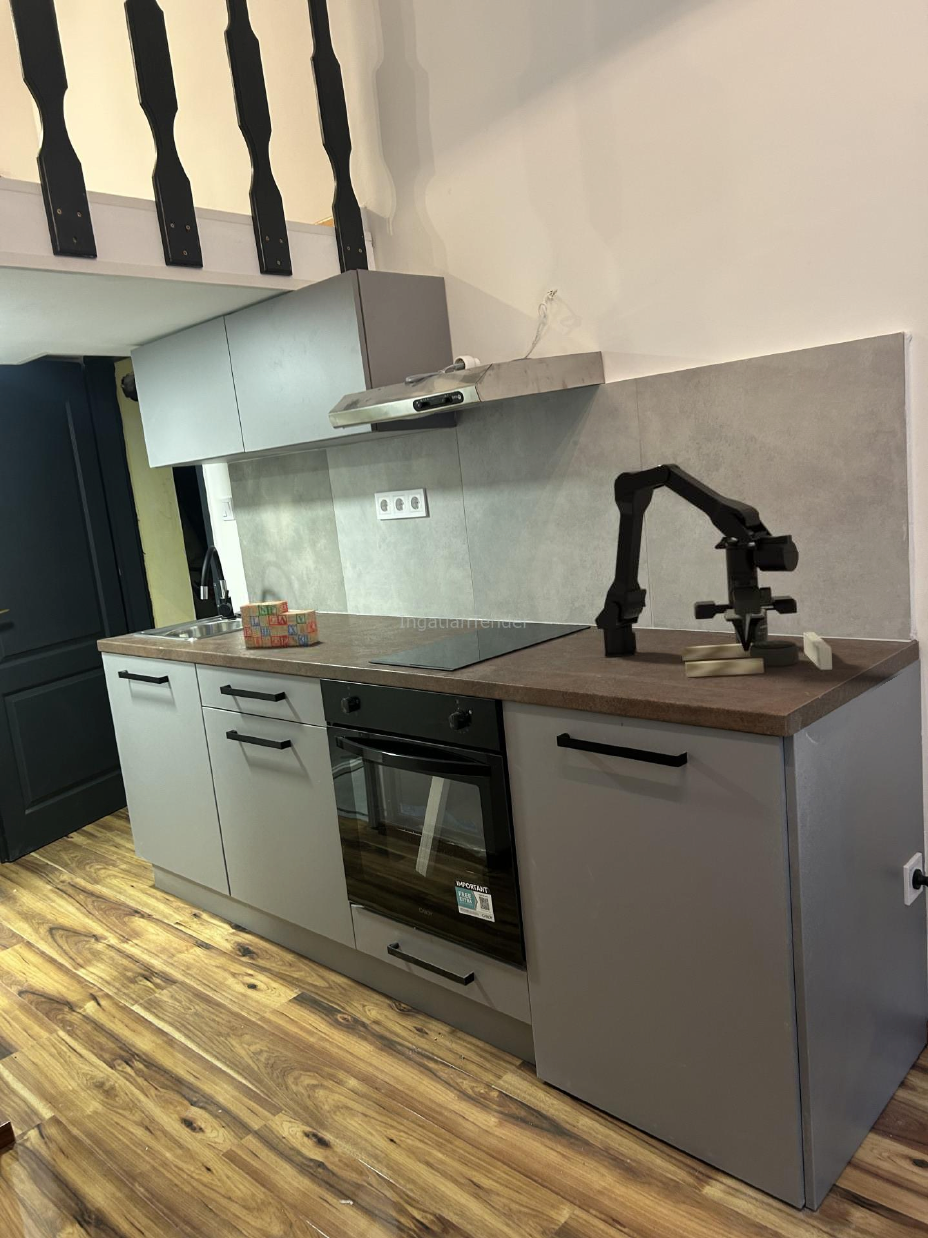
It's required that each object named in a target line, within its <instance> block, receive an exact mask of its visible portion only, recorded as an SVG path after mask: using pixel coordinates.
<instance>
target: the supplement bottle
mask: <svg viewBox="0 0 928 1238" xmlns="http://www.w3.org/2000/svg"><path fill="white" fill-rule="evenodd" d="M746 615H747V614H744V615H742V616H741V618H742V622H743V629H744V635H745V637H746ZM764 616H765V617H766V618H765V619H764V620H760V621H759V623H758V625H757V627H756V629H755V631H754V634H753V638H752V641H751V643H752V644H755V643H757V642H762V641H769V630H768V628H769V626H768V625H769V624H768V611H765V613H764ZM733 629H734V644H741V642H740V639H739V637H738V634H737V632H736V629H735V628H734V627H733Z"/></svg>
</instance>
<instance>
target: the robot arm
mask: <svg viewBox="0 0 928 1238" xmlns="http://www.w3.org/2000/svg"><path fill="white" fill-rule="evenodd" d="M664 487H666V488H667V489H669V490H670V491H672V492H673V493H675V494H676V495H678V496H679V497H681V498H682V499H684V500H685V501H686V502H688V503H690V504H691V505H693V506H694V507H695V508H697V509H698V510H699V511H701V512H703V513H705V515H706V516H707V517H708V518H709V519H710V522H711V523H712V525H713V527H715V528H716V529H717V530H718V531H719V532H720V533H721V534H722V535H723V536H722V537H721V539H720V541H718V543H717V544H716V545H715V546H714V549H715V550H725V566H726V585H727V586H726V587H727V600H728V601H727V603H721V604H718V603H717V604H716V601H714V600H705V601H704V600H702V601H695V603H694V604H693V616H694V618H695V620H711V619H714V618H715V616H716V615H719V614H721V615H723V618H724V620H725V622H727V623H728V622H729V623H731V624H732V625H733V629H734V628H735V629H736V632H737V634H738V637H739V639H740V642H741V644H742V647H743V650H744V652H746V651H749V648H750V645H751V641H752V638H753V634H754V631H755V629H756V627H757V625H758V623H759V621H760V620H764V619H765V618H766V617H765V616H764V613H765V611H767V612H768V611H775V612H777V613H778V614H779V615H789V614H791V615H792V614H797V613H798V606H797V601H796V599H794V597H792V596H791V595H776V596H772V588H771V586H764V587H763V586H762V587H759V575H758V574H759V573H758V572H759V571H758V569H759V570H760V571H761V572H762V573H763V572H769V573H772V572H773V573H777V572H780V573H784V572H786V573H787V572H789V573H790V572H794V571H795V570H796V569H797V566H798V564H799V557H800V556H799V555H800V554H799V552H800V551H799V550H798V548H797V545H796V543H795V542H794V541H793V535H792V534H783V535H775V536H774V535H773V534H772V533H771V531H770V530H769V529H768V527H766V525H765V524H764V522H763V521H762V520H761V518H760V511H758V509H757V508H755V506H752V505H749V504H748V503H745V502H742V501H741V500H736V499H733V498H730V497H726V496H724V495H722V494H721V493H719V492H717V491H716V490H714V489H713V488H711V487H709V486H708V485H706V484H705V483H703V482H702V481H700V480H699V479H697V478H696V477H695V476H692V475H691V474H690V473H688V472H686V471H685V470H684V469H682V468H681V467H680V466H679V465H678V464H677V463H663V464H659V465H658V466H655V467H652V468H649V469H645V470H636V471H635V470H633V471H624V472H621V473H620V474H619V475H618V476H616V478H615V479H614V483H613V492H614V493H613V495H614V503H615V505H616V507H617V509H618V511H619V524H618V535H617V536H618V537H617V544H616V545H617V547H616V556H615V557H616V559H615V569H614V572H615V573H614V578H613V581H612V583H611V585H610V586H609V588H608V589H607V591H606V596H605V599H604V600H605V601H604V603H603V608H602V610H601V611H600V613H598V615H597V616H596V618H594V623H595V624H596V625H595V626H596V628H597V630H602V631H603V645H604V653H603V656H604V657H607V658H608V657H622V656H634V655H635V652H637V649H638V648H637V637H636V635H637V634H636V630H633V625H634V624H638V622H639V618H640V615H641V614H642V613H643V609H644V608H646V606H647V604H646V597H647V588H641V585H640V583H639V578H638V577H639V567H640V556H641V549H642V548H641V547H642V545H641V544H642V536H643V534H642V533H643V525H644V515H645V512H646V511H647V510H648V508H649V505H650V504H651V502H652V499H653V495H654V491H655V490H658V489H660V488H664ZM744 614H747V615H746V637H745V635H744V629H743V622H742V618H741V616H742V615H744Z"/></svg>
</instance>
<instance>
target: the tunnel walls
mask: <svg viewBox="0 0 928 1238" xmlns="http://www.w3.org/2000/svg"><path fill="white" fill-rule="evenodd" d="M752 645H753V644H752V643H751V645H750V647H751V646H752ZM747 657H748V658H747ZM732 658H734V659H732ZM735 658H741V659H735ZM742 658H743V659H742ZM681 659H682V661H687V662H685V676H686V678H692V677H694V678H695V677H710V676H711V677H712V676H713V677H714V676H715V677H716V676H731V675H732V676H733V675H750V674H751V675H752V674H764V672H765V671H764V669H765V667H764V666H763V659H762V658H755V659H750V648H749V651H746V652H744V650H743V647H742V644H735V643H730V644H715V645H714V644H713V645H712V644H711V645H698V646H695V645H693V646H682V647H681ZM715 659H718V660H715ZM719 659H720V660H719ZM721 659H723V660H721ZM696 660H697V661H696ZM699 660H705V661H699ZM688 661H689V662H688Z"/></svg>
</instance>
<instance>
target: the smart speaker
mask: <svg viewBox="0 0 928 1238" xmlns="http://www.w3.org/2000/svg"><path fill="white" fill-rule="evenodd" d="M799 657H800V656H799V646H798V644H797V643H796V642H794V641H788V640H782V639H781V640H775V639H774V640H768V641H762V642H757V643H755V644H753V645H752V646H751V647H750V657H749V659H755V658H762V659H763V666H764V668H783V667H785V668H786V667H789V666H792V665H796V664H797V663H798V662H799V660H800V659H799Z"/></svg>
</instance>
